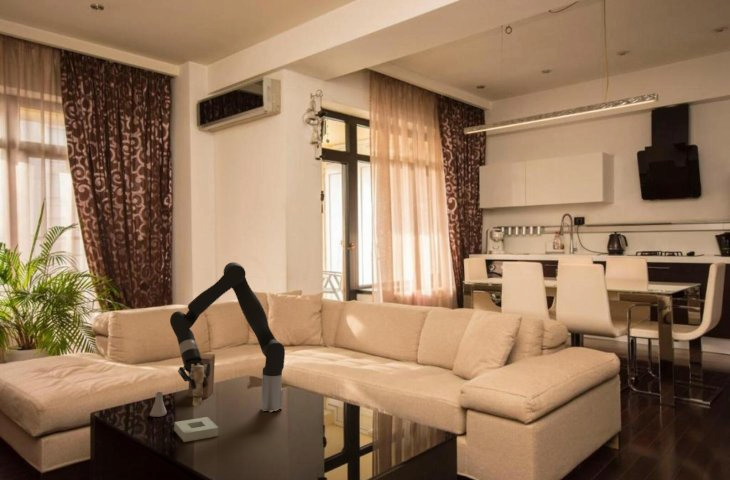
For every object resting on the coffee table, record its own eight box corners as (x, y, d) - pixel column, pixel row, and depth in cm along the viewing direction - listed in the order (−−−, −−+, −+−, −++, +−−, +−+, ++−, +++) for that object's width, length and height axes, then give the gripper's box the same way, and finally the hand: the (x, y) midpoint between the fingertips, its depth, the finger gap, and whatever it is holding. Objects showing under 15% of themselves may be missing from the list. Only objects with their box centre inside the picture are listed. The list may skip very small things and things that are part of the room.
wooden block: (207, 398, 273) (209, 358, 272) (187, 397, 273) (189, 357, 273) (213, 392, 283) (215, 354, 282) (194, 391, 283) (196, 352, 283)
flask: (160, 418, 242) (161, 395, 242) (146, 416, 244) (147, 394, 244) (169, 412, 249) (170, 391, 249) (155, 411, 251) (156, 389, 251)
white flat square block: (206, 424, 237) (207, 416, 237) (218, 435, 226) (218, 427, 226) (174, 430, 229) (174, 422, 229) (184, 441, 218) (184, 433, 218)
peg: (200, 402, 230) (202, 364, 230) (203, 405, 227) (205, 367, 226) (190, 403, 228) (192, 365, 227) (193, 406, 224) (195, 368, 224)
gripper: (176, 349, 228) (186, 385, 219) (208, 346, 237) (219, 380, 228) (171, 359, 232) (180, 395, 223) (202, 355, 241) (213, 390, 232)
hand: (200, 387), depth 226 cm, fingers closed on peg, 4 cm apart
